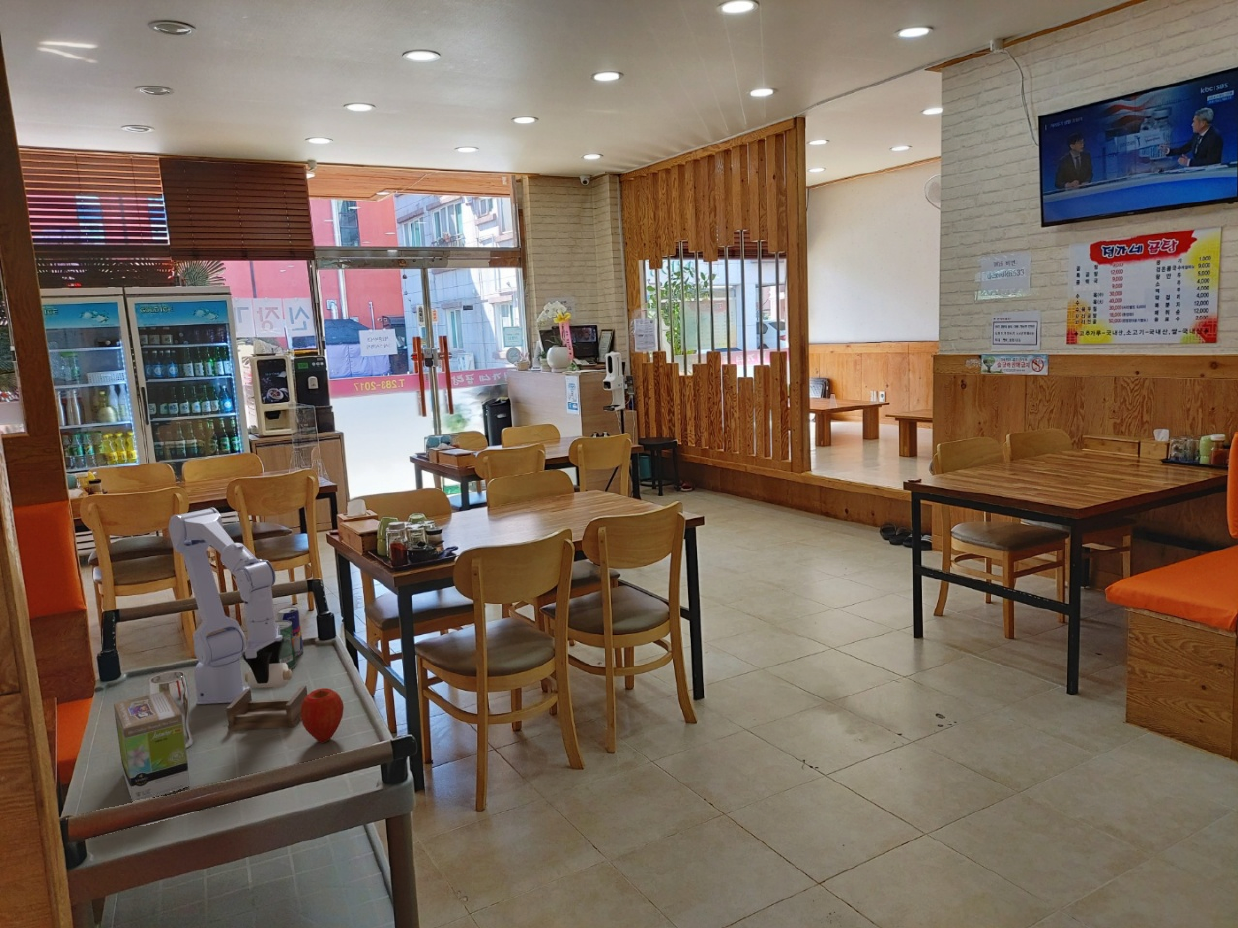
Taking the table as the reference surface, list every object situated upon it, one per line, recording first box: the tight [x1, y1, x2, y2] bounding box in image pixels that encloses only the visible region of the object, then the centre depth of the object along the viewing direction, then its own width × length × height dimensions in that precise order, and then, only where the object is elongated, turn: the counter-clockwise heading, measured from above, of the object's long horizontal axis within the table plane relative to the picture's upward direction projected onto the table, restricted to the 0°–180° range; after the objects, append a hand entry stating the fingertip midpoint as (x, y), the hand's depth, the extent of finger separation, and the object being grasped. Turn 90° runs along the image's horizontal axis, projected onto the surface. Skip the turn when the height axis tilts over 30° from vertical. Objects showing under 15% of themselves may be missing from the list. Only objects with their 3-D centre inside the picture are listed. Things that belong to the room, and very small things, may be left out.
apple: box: [300, 687, 344, 743], centre depth 179 cm, size 9×8×11 cm
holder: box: [226, 685, 308, 731], centre depth 192 cm, size 14×10×5 cm
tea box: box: [113, 691, 191, 802], centre depth 166 cm, size 15×10×15 cm, turn 35°
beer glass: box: [148, 670, 194, 749], centre depth 180 cm, size 7×7×15 cm
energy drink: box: [276, 606, 304, 657], centre depth 230 cm, size 5×5×12 cm
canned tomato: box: [275, 619, 297, 670], centre depth 221 cm, size 8×8×11 cm
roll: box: [244, 663, 293, 689], centre depth 191 cm, size 9×5×5 cm, turn 91°
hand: (267, 677), depth 191 cm, fingers closed on roll, 5 cm apart
